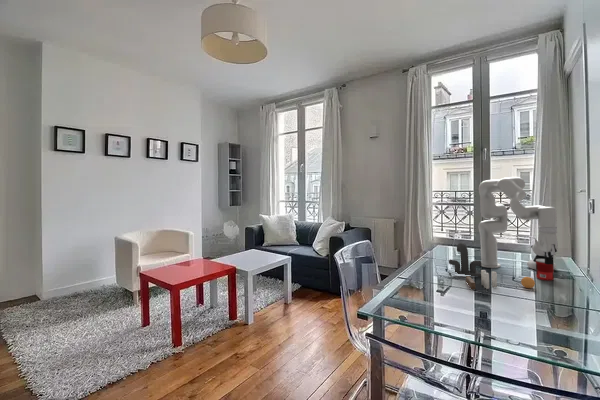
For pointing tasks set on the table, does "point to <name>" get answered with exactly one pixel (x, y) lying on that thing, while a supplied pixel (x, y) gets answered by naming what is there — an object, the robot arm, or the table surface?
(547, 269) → the canned food
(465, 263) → the faucet
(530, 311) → the table surface
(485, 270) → the pin
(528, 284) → the ball
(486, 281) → the pin
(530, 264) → the decorative figurine
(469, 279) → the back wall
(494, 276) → the front pin
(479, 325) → the table surface
